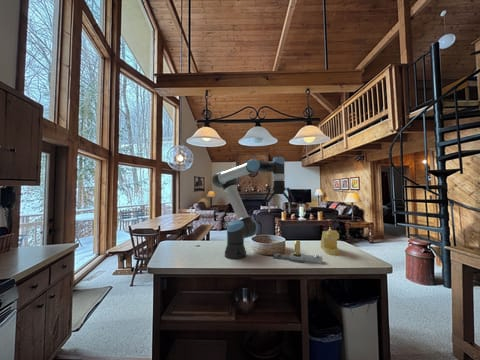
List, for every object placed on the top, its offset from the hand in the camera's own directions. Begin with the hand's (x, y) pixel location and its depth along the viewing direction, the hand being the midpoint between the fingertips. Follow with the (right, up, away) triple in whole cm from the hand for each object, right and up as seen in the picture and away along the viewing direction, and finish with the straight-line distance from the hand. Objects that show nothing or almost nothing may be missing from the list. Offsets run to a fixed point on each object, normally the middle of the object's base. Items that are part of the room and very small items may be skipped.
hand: (279, 212), depth 145 cm
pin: (+11, -31, -3) cm, 33 cm away
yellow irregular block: (+41, -32, +17) cm, 55 cm away
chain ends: (+11, -31, -3) cm, 33 cm away
